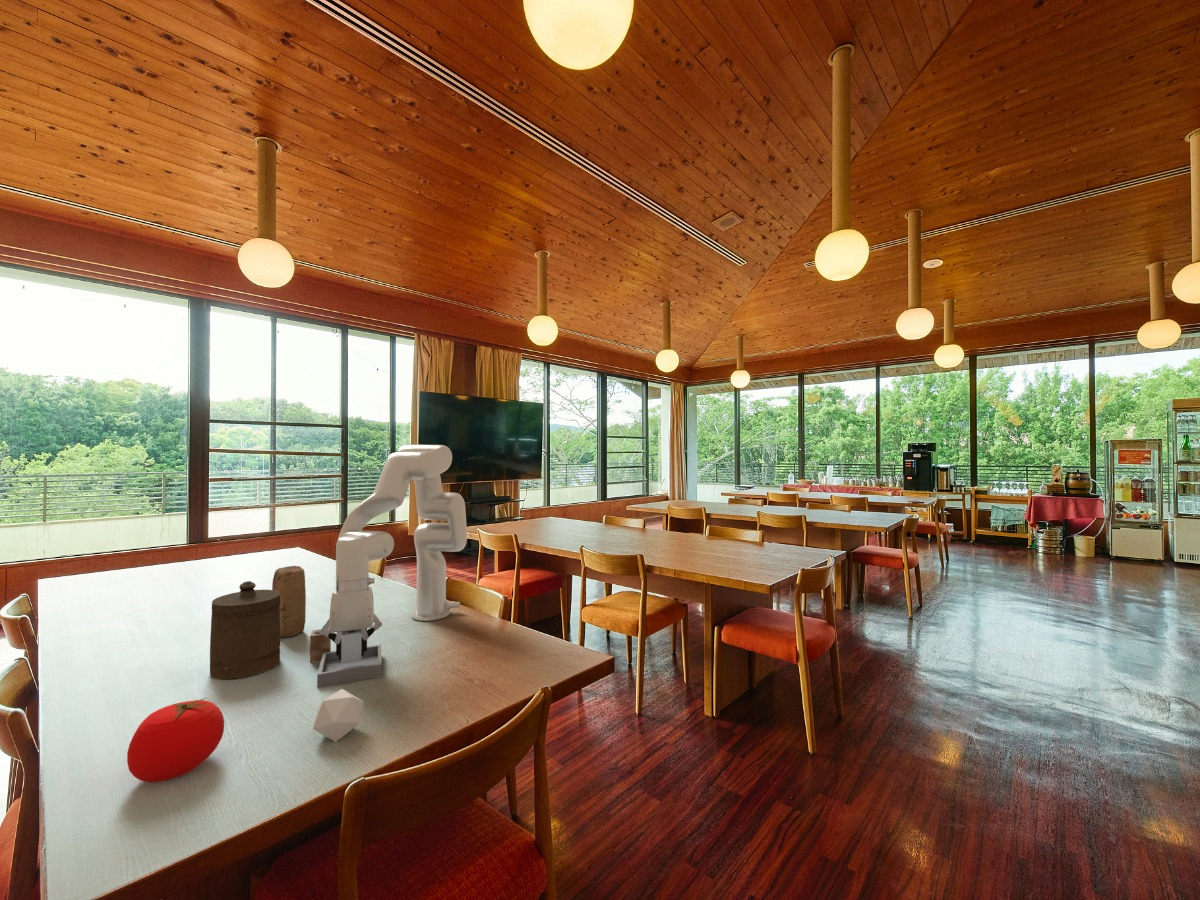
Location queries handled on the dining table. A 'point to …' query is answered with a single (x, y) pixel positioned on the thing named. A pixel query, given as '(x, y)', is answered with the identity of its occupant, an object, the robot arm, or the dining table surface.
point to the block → (291, 599)
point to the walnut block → (318, 645)
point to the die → (338, 715)
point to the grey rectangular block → (351, 646)
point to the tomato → (175, 740)
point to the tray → (349, 667)
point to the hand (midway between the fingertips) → (351, 655)
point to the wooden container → (245, 632)
